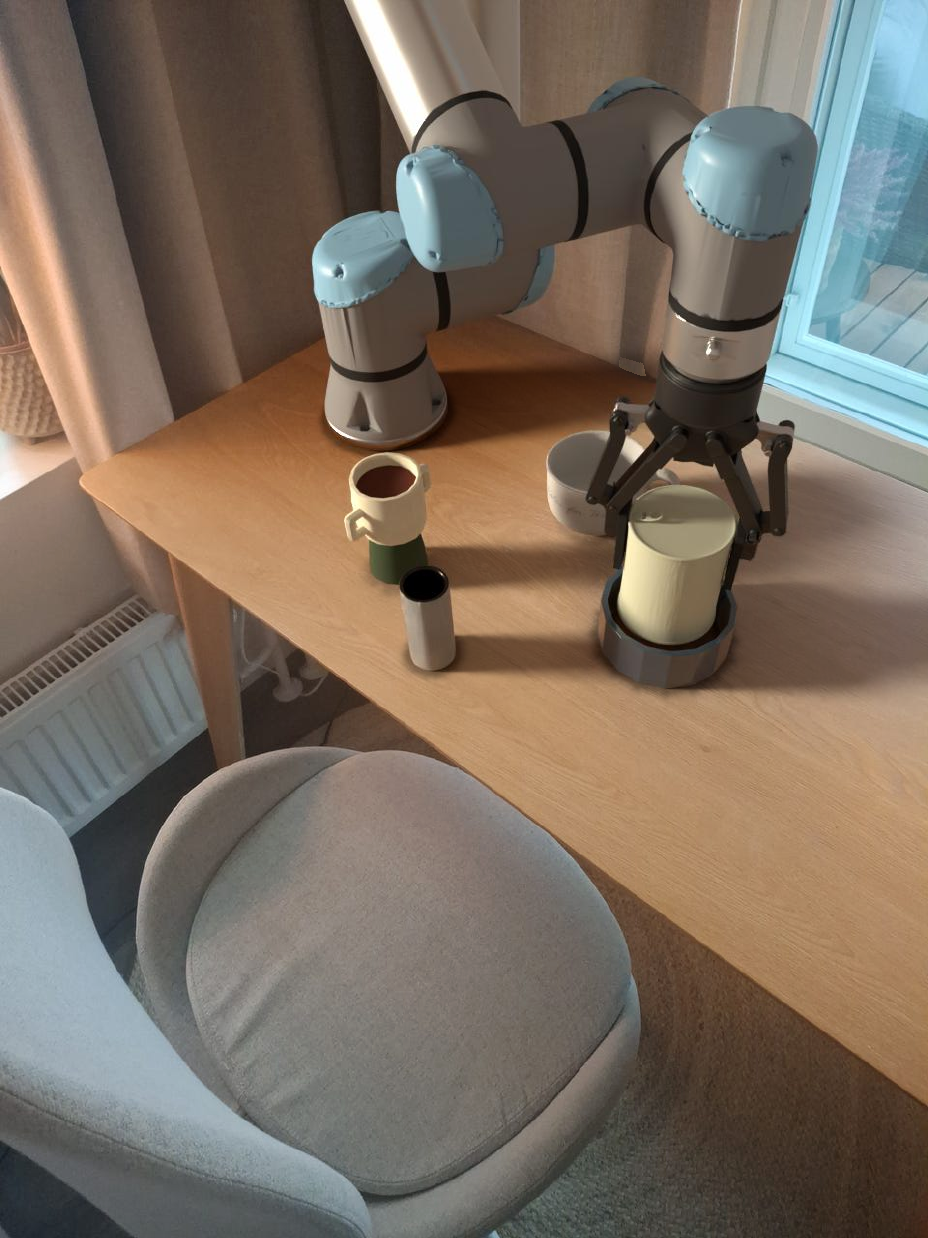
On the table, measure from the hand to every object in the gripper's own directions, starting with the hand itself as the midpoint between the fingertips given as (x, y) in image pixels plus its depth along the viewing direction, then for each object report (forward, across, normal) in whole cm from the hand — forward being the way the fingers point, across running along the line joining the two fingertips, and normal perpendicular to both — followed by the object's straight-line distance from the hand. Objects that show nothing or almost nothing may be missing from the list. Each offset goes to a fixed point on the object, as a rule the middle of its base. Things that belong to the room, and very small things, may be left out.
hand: (673, 568), depth 82 cm
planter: (+10, -21, -8) cm, 25 cm away
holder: (+9, 0, 0) cm, 9 cm away
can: (+6, 0, 0) cm, 6 cm away
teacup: (+10, -8, +15) cm, 19 cm away
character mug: (+10, -28, +2) cm, 30 cm away
